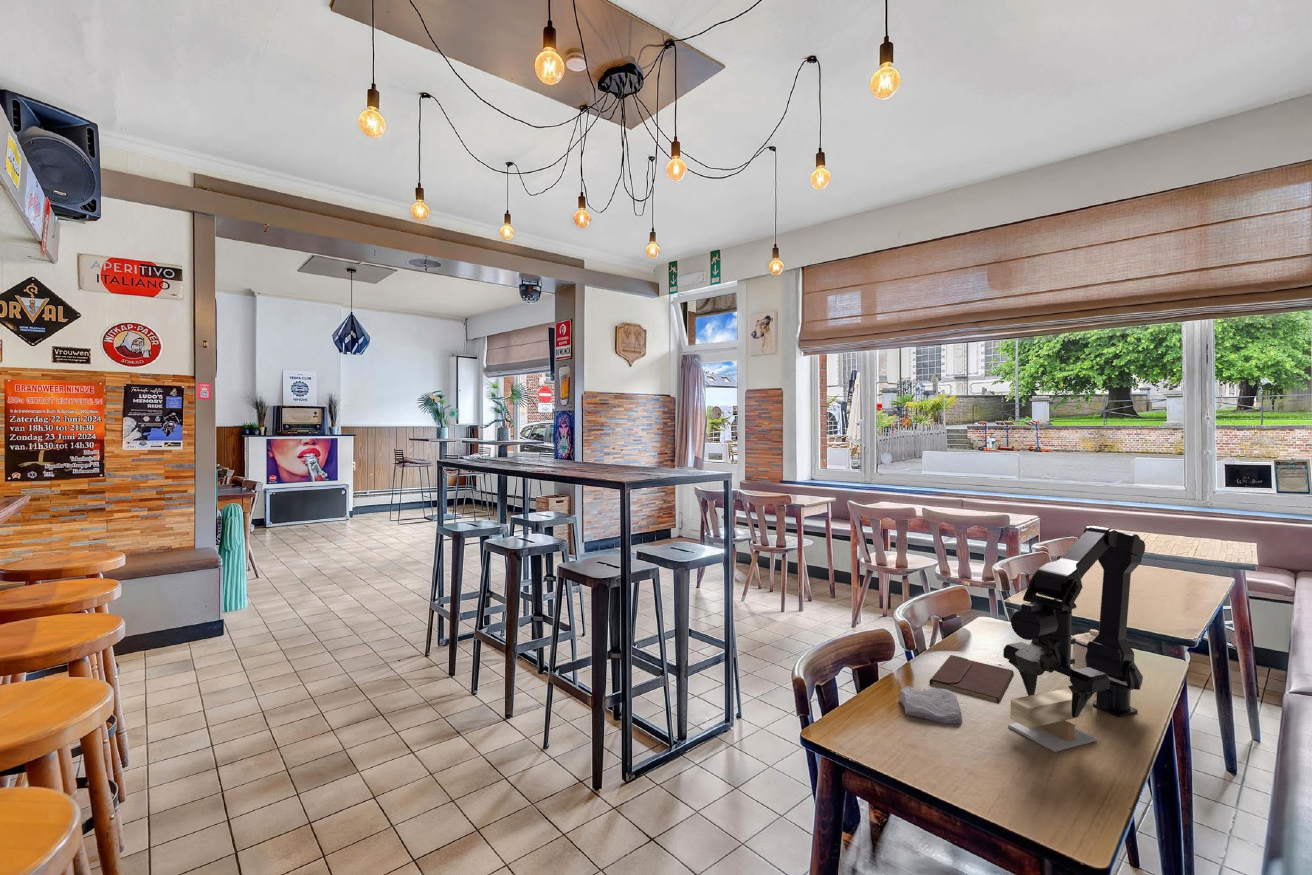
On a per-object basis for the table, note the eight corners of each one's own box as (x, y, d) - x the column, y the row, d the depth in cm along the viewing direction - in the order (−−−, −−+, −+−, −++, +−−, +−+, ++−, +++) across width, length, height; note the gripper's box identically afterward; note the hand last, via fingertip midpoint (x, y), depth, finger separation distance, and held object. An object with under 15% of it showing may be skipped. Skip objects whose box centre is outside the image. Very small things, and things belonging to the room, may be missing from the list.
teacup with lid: (1113, 687, 146) (1115, 639, 145) (1068, 676, 152) (1069, 630, 151) (1118, 672, 155) (1119, 627, 154) (1075, 662, 161) (1076, 619, 160)
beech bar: (1073, 705, 128) (1074, 686, 128) (1092, 714, 124) (1093, 695, 124) (1010, 718, 122) (1010, 699, 122) (1028, 728, 118) (1028, 708, 118)
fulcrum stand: (1048, 717, 130) (1048, 701, 130) (1096, 740, 121) (1096, 722, 121) (1008, 727, 126) (1008, 710, 126) (1054, 751, 116) (1055, 733, 116)
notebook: (1013, 676, 152) (1013, 668, 152) (999, 704, 137) (999, 696, 137) (949, 661, 162) (949, 653, 162) (929, 686, 146) (929, 677, 146)
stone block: (965, 734, 127) (954, 703, 136) (966, 714, 125) (955, 685, 135) (905, 729, 129) (898, 699, 139) (905, 709, 128) (898, 681, 138)
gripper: (985, 621, 129) (983, 693, 129) (1073, 653, 111) (1070, 736, 112) (1022, 615, 133) (1020, 685, 133) (1113, 645, 115) (1110, 725, 116)
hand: (1052, 706), depth 123 cm, fingers open, 9 cm apart
